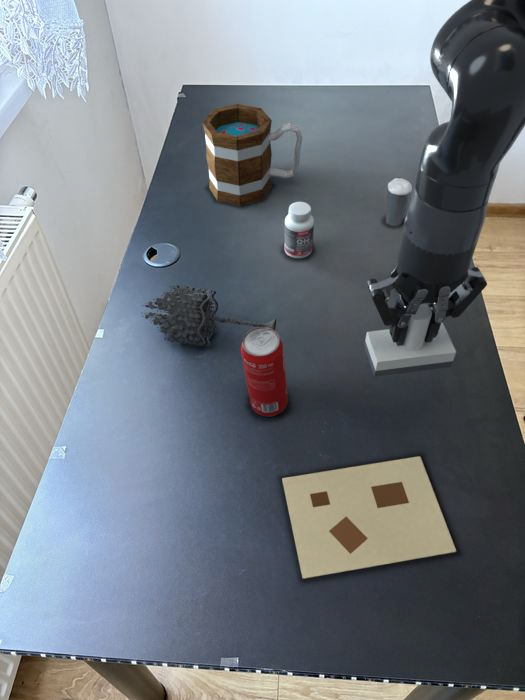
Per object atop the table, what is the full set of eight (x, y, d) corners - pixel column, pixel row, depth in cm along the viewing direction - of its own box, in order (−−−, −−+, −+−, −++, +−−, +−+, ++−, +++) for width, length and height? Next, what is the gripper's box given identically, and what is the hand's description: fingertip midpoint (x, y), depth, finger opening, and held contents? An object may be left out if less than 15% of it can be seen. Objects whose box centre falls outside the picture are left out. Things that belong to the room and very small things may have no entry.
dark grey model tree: (269, 367, 96) (268, 328, 89) (139, 349, 99) (128, 310, 92) (279, 325, 102) (279, 285, 95) (156, 309, 105) (147, 269, 98)
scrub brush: (437, 337, 79) (452, 291, 72) (451, 367, 76) (467, 321, 69) (364, 347, 78) (372, 301, 71) (374, 377, 75) (383, 331, 68)
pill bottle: (299, 263, 112) (301, 221, 104) (278, 250, 114) (278, 208, 107) (318, 249, 114) (321, 207, 107) (296, 237, 117) (298, 195, 109)
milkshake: (375, 216, 120) (381, 173, 113) (400, 212, 121) (408, 169, 113) (382, 230, 117) (389, 187, 110) (408, 226, 118) (417, 183, 110)
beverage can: (294, 408, 91) (296, 344, 79) (257, 426, 89) (254, 363, 77) (274, 381, 94) (274, 316, 83) (238, 398, 92) (232, 334, 81)
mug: (207, 207, 123) (200, 140, 112) (210, 169, 132) (203, 104, 121) (302, 204, 123) (305, 138, 112) (298, 167, 132) (300, 102, 120)
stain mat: (419, 456, 85) (420, 456, 85) (456, 552, 76) (456, 551, 76) (281, 478, 83) (282, 478, 83) (302, 579, 74) (302, 578, 74)
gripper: (384, 259, 58) (364, 369, 71) (523, 244, 59) (477, 355, 72) (365, 212, 63) (349, 323, 76) (493, 198, 64) (455, 310, 77)
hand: (412, 338), depth 74 cm, fingers closed on scrub brush, 3 cm apart
